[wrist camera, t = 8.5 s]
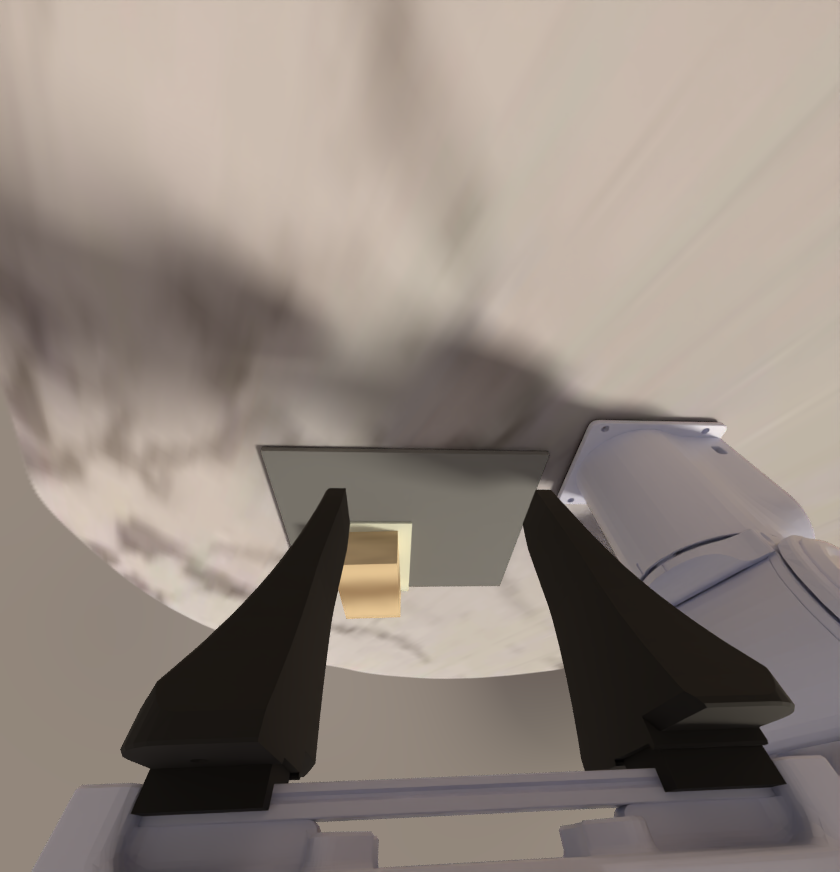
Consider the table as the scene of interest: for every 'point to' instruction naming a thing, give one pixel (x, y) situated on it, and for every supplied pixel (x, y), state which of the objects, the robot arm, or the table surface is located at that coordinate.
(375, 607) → the oak block
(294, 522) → the rubber mat
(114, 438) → the table surface
